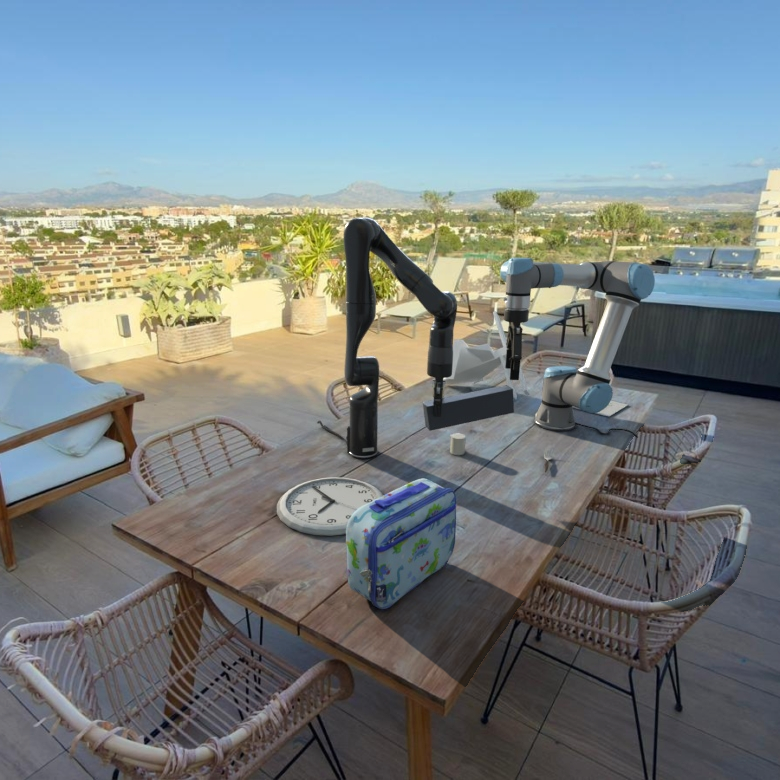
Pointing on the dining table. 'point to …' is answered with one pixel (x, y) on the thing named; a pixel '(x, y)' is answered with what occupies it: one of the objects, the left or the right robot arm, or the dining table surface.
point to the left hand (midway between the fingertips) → (437, 412)
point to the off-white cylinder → (457, 444)
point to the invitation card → (611, 408)
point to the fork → (547, 459)
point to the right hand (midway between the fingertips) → (511, 373)
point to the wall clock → (324, 504)
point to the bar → (470, 407)
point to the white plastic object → (481, 362)
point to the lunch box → (400, 540)
